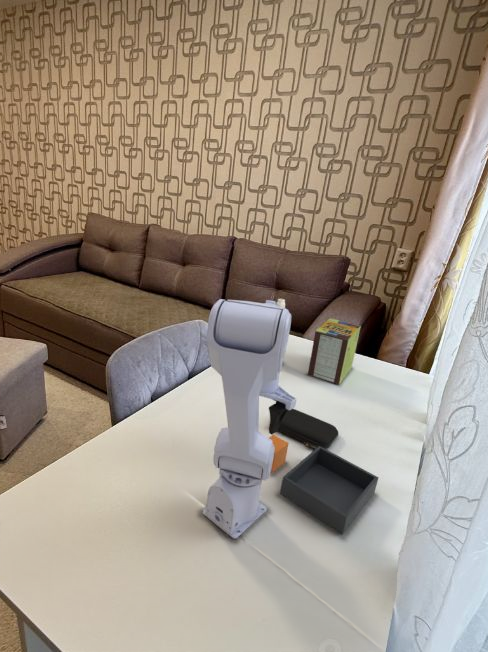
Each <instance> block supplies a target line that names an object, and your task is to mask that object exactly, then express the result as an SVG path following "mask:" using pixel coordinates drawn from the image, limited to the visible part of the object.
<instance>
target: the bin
mask: <svg viewBox="0 0 488 652" xmlns="http://www.w3.org/2000/svg"><path fill="white" fill-rule="evenodd" d="M378 481H379V476H377V475H375V474H373V473H371V472H370V471H367V470H365V469H364V468H362V467H361V466H358V465H356V464H355V463H353V462H351V461H349V460H347V459H345V458H344V457H341V456H339V455H337V454H336V453H334V452H332V451H330V450H328V449H324V448H322V447H321V446H318V447H317V448H316V449H315V448H314V450H313V451H311V453H309V454H308V455H307V456H306V457H304V458H303V459H302V460H301V461H300V462H298V463H297V465H295V466H294V467H293V468H291V470H290V471H289V472H287V473H286V474H285V475H284V476H283V477H282V480H281V486H280V493H279V494H280V495H281V496H283V497H284V498H286V499H287V500H289V501H291V502H292V503H294V504H295V505H297V506H298V507H300V508H301V509H303V510H304V511H306V512H307V513H309V514H310V515H312V516H313V517H315V518H316V519H318V520H319V521H321V522H322V523H324V524H325V525H327V526H328V527H330V528H331V529H333V530H334V531H336V532H337V533H339V534H340V535H344V533H345V532H346V531H347V529H348V528H349V527H350V526H351V525H352V523H353V522H354V520H356V518H357V516H358V515H359V514H360V513H361V511H363V509H364V508H365V506H366V505H367V504H368V502H369V501H370V500H371V498H372V497H373V495H374V494H375V491H376V488H377V485H378Z"/></svg>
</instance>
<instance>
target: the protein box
mask: <svg viewBox="0 0 488 652" xmlns="http://www.w3.org/2000/svg"><path fill="white" fill-rule="evenodd" d="M361 327H362V326H361V325H360V324H356V323H352V322H349V321H348V322H347V321H343V320H340V319H336V318H329V319H328V320H326V321H325V322H324V323H322V324H321V325H320V326H319V327H318V328H316V330H315V332H314V337H313V342H312V347H311V348H312V349H311V355H310V360H309V364H308V365H309V366H308V373H307V376H310V377H313V378H316V379H319V380H322V381H326V382H329V383H332V384H335V385H338V386H339V385H340V384H341V383H342V381H343V380H344V379H345V377H346V376H347V374H348V373H349V372H350V371H351V370H352V367H353V362H354V360H355V359H354V358H355V355H356V350H357V345H358V342H359V341H358V340H359V335H360V331H361Z"/></svg>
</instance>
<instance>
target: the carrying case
mask: <svg viewBox="0 0 488 652" xmlns="http://www.w3.org/2000/svg"><path fill="white" fill-rule="evenodd" d="M277 432H279V433H282V434H284V435H287V436H288V437H290V438H293V439H295V440H297V441H299V442H301V443H304V446H306V447H308V448H313V449H314V450H315V449H316V448H317V447H318V446H321V447H322V448H324V449H326V450H328V449H329V448H330V446H331V445H332V444H333V442H334V441H335V440H336V439H337V437H338V436H339V434H340V433H339V431H338V429H337V427H336V426H335V425H333V424H332V423H329V422H327V421H324V420H322V419H319V418H317V417H315V416H313V415H310V414H307V413H305V412H303V411H300V410H298V409H296V408H293V409H291V410H289V411H288V412H287V414H286V415H285V416H284V418H283V420H282V421H281V423H280V425H279V428H278V430H277Z"/></svg>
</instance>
